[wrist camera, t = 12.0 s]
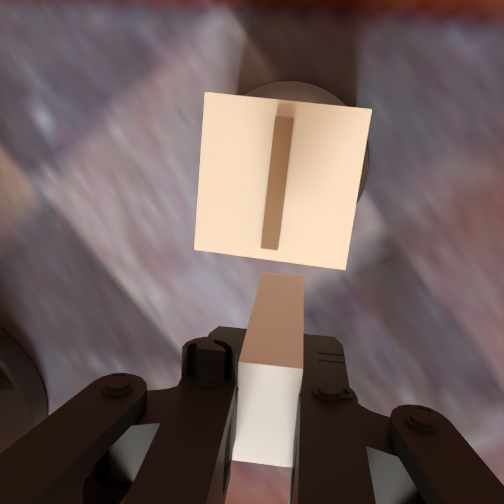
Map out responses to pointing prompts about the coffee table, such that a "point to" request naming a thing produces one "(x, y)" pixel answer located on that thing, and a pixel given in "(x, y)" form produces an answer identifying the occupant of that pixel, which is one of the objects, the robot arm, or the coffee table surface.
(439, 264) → the coffee table surface
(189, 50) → the coffee table surface
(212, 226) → the cream rectangular block
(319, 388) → the robot arm
